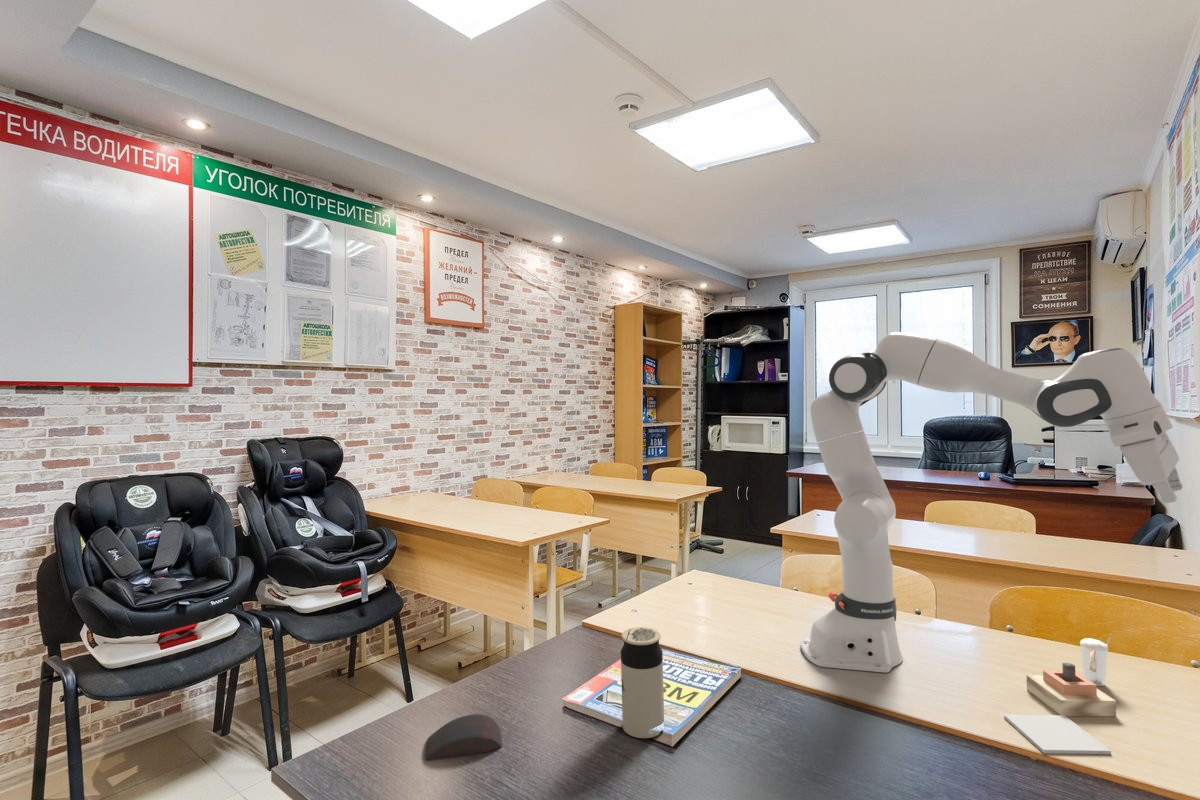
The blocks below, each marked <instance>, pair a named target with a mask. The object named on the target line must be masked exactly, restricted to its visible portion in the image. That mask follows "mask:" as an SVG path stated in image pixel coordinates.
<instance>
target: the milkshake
mask: <svg viewBox="0 0 1200 800" xmlns="http://www.w3.org/2000/svg"><path fill="white" fill-rule="evenodd" d="M1111 638H1112V637H1111V636H1108V639H1107V640H1106V643H1105V642H1103V641H1101V640H1098V639H1096V638H1095V639H1094V638H1092V637H1091V638H1083V639H1081V640H1080V641H1079V644H1080V653H1081V659H1082V661H1081V662H1082V669H1083V677H1085V678H1086V679H1088V680H1090V681H1091V682H1093V683H1094V684H1096V685H1097V687H1103V686H1105V684H1106V672H1107V659H1108V653H1109V651H1108V650H1109V646H1108V644H1109V643H1110V640H1111Z"/></svg>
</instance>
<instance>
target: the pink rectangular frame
mask: <svg viewBox="0 0 1200 800" xmlns="http://www.w3.org/2000/svg"><path fill="white" fill-rule="evenodd" d="M1042 675H1043V680H1044V681H1045V682H1047V683H1048V684H1050V685H1051V686H1052V687H1054V688H1055V689H1057V690H1058V691H1059V692H1061V693H1062V694H1064V695H1097V689H1098V688H1097V687H1098V686H1097V685H1096V684H1094V683H1093V682H1091V681H1090V680H1088V679H1086V678H1085V677H1084V675H1082V674H1081V673H1079V672H1077V671H1076V670H1075V680H1076V682H1066V681H1064V680H1063V669H1062V670H1059V669H1058V670H1057V669H1054V670H1053V669H1051V670H1050V669H1046V670H1045V669H1044V670H1043V669H1042Z"/></svg>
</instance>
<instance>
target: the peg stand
mask: <svg viewBox="0 0 1200 800" xmlns="http://www.w3.org/2000/svg"><path fill="white" fill-rule="evenodd" d="M1061 666H1062V670H1063V680H1064V681H1066V682H1076V680H1075V671H1076V665H1075V664H1072V663H1071V662H1070V663H1069V662H1062V665H1061ZM1026 690H1027V691H1028V692H1029V693H1031V694H1032V695H1034V697H1036V698H1037V699H1039V700H1040V701H1041V702H1042V703H1044V704H1045V705H1046V706H1048V707H1049V708H1050V709H1052V710H1053V711H1054V712H1056V713H1057V714H1058V715H1063V716H1066V717H1117V700H1116V699H1114V698H1112V697H1111V696H1110V695H1108V694H1107V693H1105V692H1103V691H1102V690H1100V689H1098V688H1097V695H1064V694H1062V693H1061V692H1059V691H1058V690H1057V689H1055V688H1054V687H1052V686H1051V685H1050V684H1048V683H1047V682H1045V681H1044V680H1043V674H1041V675H1040V674H1039V675H1038V674H1026Z"/></svg>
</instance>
